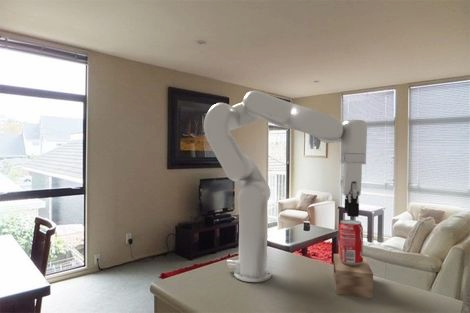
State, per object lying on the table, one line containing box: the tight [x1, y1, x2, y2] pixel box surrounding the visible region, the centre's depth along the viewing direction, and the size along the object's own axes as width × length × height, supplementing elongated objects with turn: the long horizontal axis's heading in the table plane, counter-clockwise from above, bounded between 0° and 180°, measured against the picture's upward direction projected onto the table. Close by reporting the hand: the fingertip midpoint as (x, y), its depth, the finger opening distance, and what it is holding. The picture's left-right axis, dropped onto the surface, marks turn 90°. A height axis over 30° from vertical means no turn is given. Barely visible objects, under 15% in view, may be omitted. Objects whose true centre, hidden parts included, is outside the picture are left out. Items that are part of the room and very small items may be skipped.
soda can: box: [338, 219, 364, 266], centre depth 98 cm, size 7×7×13 cm
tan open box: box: [332, 253, 374, 299], centre depth 98 cm, size 10×16×7 cm, turn 165°
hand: (351, 213), depth 98 cm, fingers open, 9 cm apart
